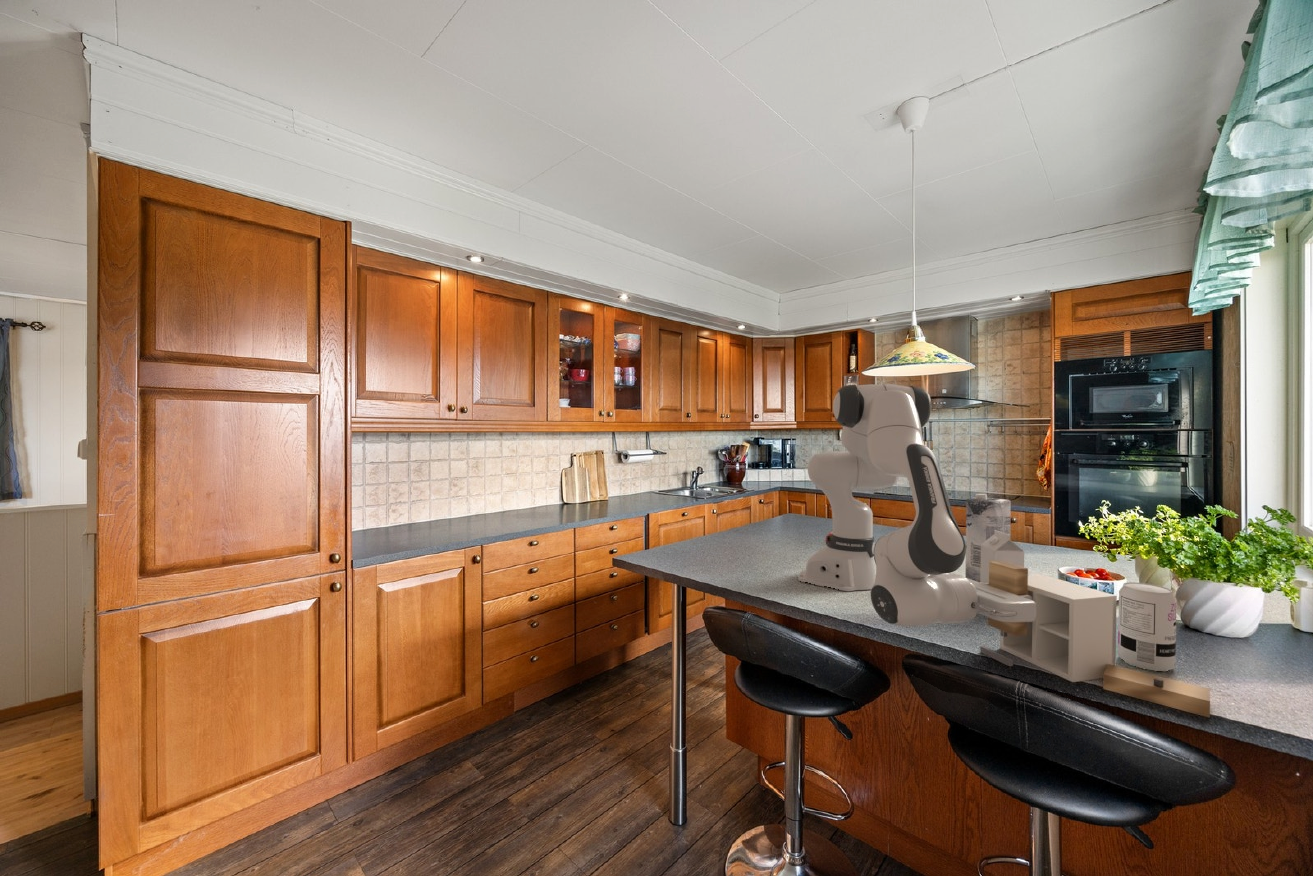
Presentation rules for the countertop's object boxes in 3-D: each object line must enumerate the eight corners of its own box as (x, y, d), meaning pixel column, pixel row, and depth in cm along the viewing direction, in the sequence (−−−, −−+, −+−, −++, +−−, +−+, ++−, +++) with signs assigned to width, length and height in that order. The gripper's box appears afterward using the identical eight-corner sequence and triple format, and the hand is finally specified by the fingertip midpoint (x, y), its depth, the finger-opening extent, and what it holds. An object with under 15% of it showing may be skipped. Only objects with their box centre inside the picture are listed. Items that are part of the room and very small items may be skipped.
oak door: (1010, 636, 103) (1011, 569, 103) (984, 625, 109) (985, 561, 108) (1026, 634, 104) (1028, 568, 103) (1000, 623, 110) (1001, 560, 109)
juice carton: (1013, 589, 152) (1015, 495, 151) (991, 595, 147) (993, 497, 146) (982, 581, 160) (983, 491, 159) (960, 586, 155) (961, 493, 154)
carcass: (1048, 685, 95) (1049, 601, 95) (977, 650, 110) (978, 578, 109) (1115, 676, 98) (1116, 595, 98) (1037, 643, 113) (1038, 573, 113)
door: (1103, 691, 94) (1103, 668, 94) (1107, 680, 98) (1107, 658, 98) (1209, 720, 84) (1210, 695, 84) (1209, 706, 89) (1209, 682, 89)
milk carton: (1007, 601, 141) (1009, 530, 141) (1023, 610, 134) (1024, 535, 134) (979, 600, 142) (980, 529, 142) (993, 609, 135) (995, 535, 134)
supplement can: (1110, 652, 109) (1111, 579, 109) (1162, 659, 106) (1163, 584, 106) (1128, 669, 101) (1130, 590, 101) (1184, 676, 98) (1186, 596, 98)
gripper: (999, 598, 93) (1062, 593, 96) (916, 568, 113) (970, 565, 116) (999, 634, 93) (1061, 628, 96) (916, 598, 113) (970, 593, 116)
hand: (1011, 593), depth 106 cm, fingers closed on oak door, 6 cm apart
